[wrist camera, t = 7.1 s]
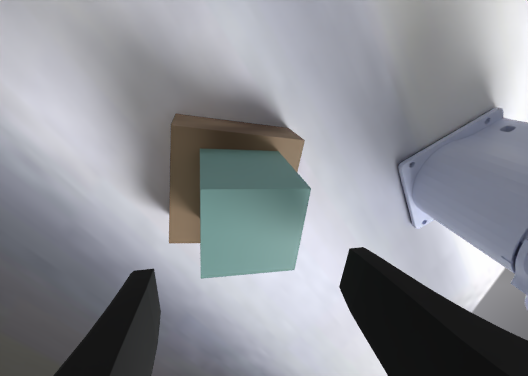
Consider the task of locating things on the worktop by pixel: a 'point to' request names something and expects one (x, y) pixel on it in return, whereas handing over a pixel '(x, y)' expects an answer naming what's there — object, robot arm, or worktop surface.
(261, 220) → the teal cube
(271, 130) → the walnut block
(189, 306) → the worktop surface
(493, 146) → the robot arm
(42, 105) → the worktop surface
